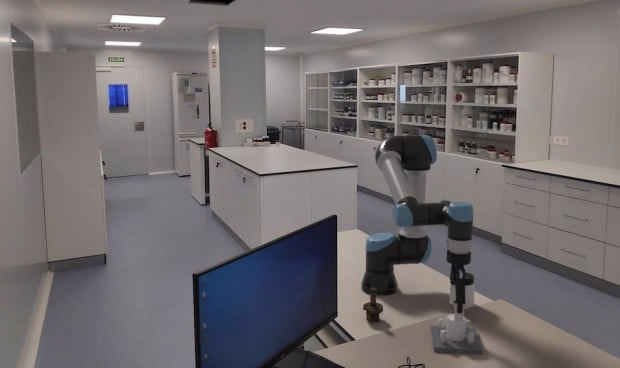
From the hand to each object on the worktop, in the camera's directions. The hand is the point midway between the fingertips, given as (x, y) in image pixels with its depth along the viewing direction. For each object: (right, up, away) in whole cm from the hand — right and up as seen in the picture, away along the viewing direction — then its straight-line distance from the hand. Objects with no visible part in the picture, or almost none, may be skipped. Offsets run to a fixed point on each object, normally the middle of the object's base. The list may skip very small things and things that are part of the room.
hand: (456, 312), depth 165 cm
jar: (+11, -5, +30) cm, 32 cm away
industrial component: (-24, -8, +19) cm, 32 cm away
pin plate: (0, -10, +2) cm, 10 cm away
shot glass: (0, -9, +1) cm, 9 cm away
